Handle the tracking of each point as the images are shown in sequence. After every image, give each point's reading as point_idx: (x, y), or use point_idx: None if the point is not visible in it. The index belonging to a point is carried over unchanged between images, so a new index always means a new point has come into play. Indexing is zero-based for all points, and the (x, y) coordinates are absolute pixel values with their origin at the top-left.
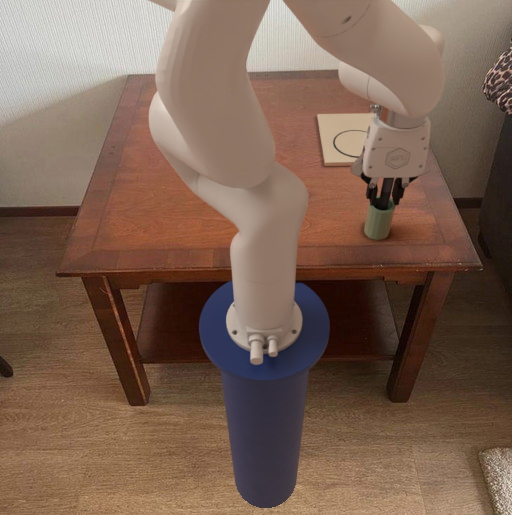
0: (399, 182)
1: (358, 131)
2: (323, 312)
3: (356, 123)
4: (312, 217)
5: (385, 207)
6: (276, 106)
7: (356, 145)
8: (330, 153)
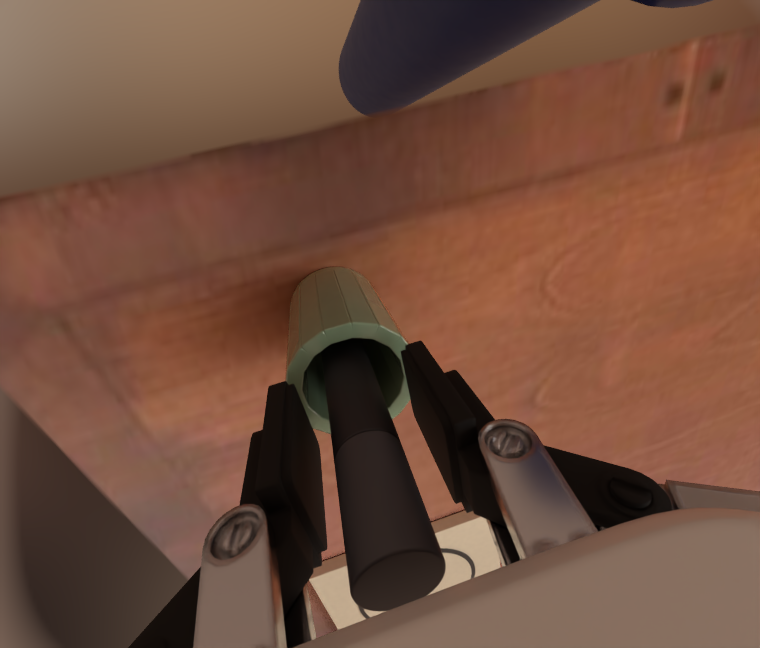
0: (291, 540)
1: None
2: None
3: None
4: (534, 316)
5: (336, 362)
6: None
7: None
8: (482, 540)
